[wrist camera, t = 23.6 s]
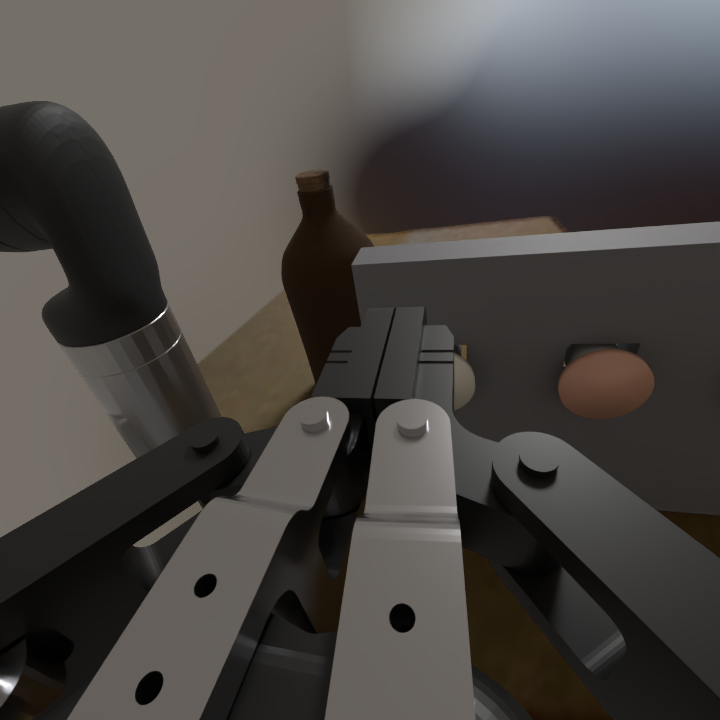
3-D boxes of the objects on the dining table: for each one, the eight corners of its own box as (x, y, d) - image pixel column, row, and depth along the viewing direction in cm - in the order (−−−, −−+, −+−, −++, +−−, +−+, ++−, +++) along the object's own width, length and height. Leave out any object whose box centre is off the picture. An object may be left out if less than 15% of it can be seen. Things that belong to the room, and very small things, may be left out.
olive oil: (322, 420, 46) (259, 195, 32) (306, 371, 54) (251, 176, 40) (407, 394, 48) (384, 168, 33) (378, 350, 56) (350, 156, 42)
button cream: (474, 414, 27) (476, 354, 24) (402, 411, 28) (395, 354, 26) (472, 358, 32) (473, 303, 29) (411, 358, 34) (407, 306, 31)
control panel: (785, 521, 29) (1023, 223, 17) (388, 487, 37) (351, 265, 25) (732, 445, 35) (879, 183, 23) (398, 429, 43) (372, 226, 30)
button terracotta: (642, 420, 25) (665, 354, 22) (554, 417, 26) (565, 355, 23) (610, 358, 30) (626, 299, 27) (539, 358, 31) (546, 301, 28)
